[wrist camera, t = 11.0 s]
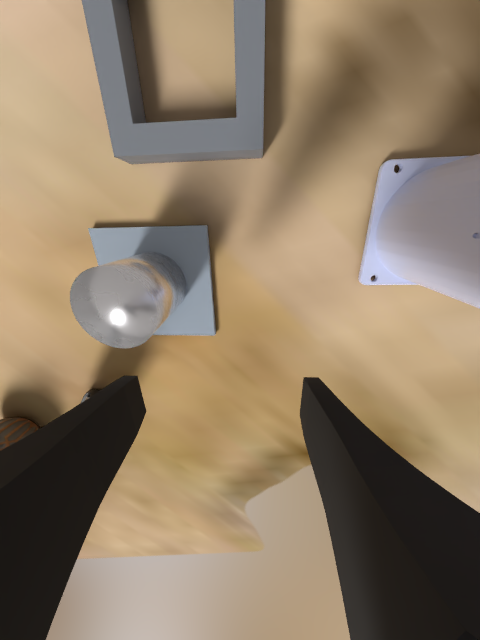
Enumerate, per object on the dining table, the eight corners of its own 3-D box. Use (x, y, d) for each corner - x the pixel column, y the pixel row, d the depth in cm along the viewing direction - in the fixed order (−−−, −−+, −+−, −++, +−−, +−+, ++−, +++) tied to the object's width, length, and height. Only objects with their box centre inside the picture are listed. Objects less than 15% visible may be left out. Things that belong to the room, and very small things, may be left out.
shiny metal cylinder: (183, 252, 17) (150, 268, 12) (188, 313, 19) (161, 350, 14) (120, 250, 17) (58, 264, 12) (131, 310, 19) (83, 345, 14)
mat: (207, 225, 17) (206, 225, 16) (215, 332, 20) (214, 335, 20) (92, 228, 17) (88, 228, 17) (120, 332, 21) (117, 334, 21)
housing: (265, -61, 11) (266, -115, 9) (262, 158, 15) (263, 149, 13) (93, -41, 12) (63, -89, 10) (130, 164, 15) (114, 156, 14)
